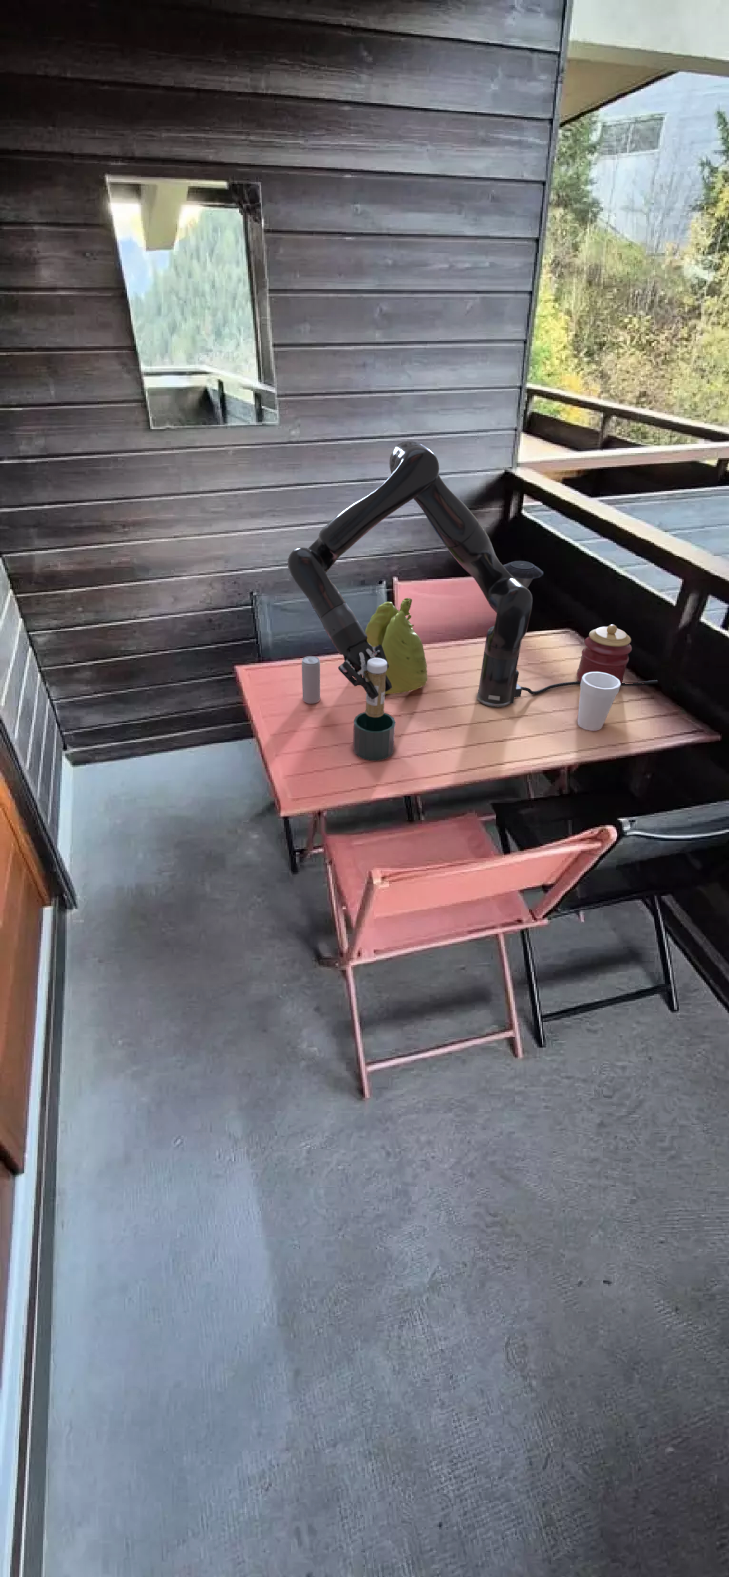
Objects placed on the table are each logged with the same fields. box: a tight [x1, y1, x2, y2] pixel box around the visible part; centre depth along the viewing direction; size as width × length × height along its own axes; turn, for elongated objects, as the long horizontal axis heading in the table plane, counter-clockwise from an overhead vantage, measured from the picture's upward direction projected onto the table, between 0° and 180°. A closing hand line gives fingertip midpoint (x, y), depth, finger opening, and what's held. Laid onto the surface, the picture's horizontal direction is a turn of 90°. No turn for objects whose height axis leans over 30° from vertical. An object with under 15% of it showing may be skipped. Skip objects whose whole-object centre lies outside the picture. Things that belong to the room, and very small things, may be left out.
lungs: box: [364, 597, 428, 695], centre depth 194 cm, size 25×16×24 cm, turn 18°
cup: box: [352, 711, 396, 762], centre depth 169 cm, size 10×10×8 cm
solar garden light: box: [502, 560, 544, 589], centre depth 203 cm, size 12×12×30 cm
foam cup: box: [577, 672, 621, 732], centre depth 180 cm, size 10×9×13 cm
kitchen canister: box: [576, 624, 633, 684], centre depth 198 cm, size 13×13×18 cm
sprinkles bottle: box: [364, 658, 387, 717], centre depth 161 cm, size 5×5×14 cm
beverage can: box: [301, 655, 321, 705], centre depth 186 cm, size 5×5×12 cm
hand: (382, 693), depth 161 cm, fingers closed on sprinkles bottle, 4 cm apart
